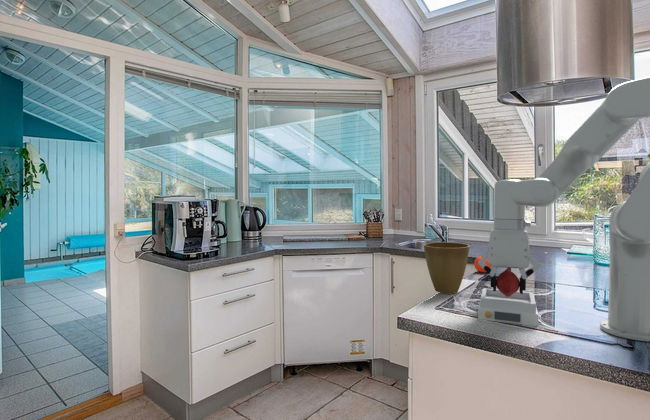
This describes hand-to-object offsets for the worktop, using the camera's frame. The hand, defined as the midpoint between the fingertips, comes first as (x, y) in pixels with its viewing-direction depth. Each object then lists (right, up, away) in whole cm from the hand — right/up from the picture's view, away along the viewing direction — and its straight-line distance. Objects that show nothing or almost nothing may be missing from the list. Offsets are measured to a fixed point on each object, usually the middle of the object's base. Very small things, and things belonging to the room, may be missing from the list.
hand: (507, 290), depth 107 cm
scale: (0, -7, 0) cm, 7 cm away
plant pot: (-8, -6, +27) cm, 29 cm away
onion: (0, -2, 0) cm, 2 cm away
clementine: (+18, -5, +60) cm, 63 cm away
